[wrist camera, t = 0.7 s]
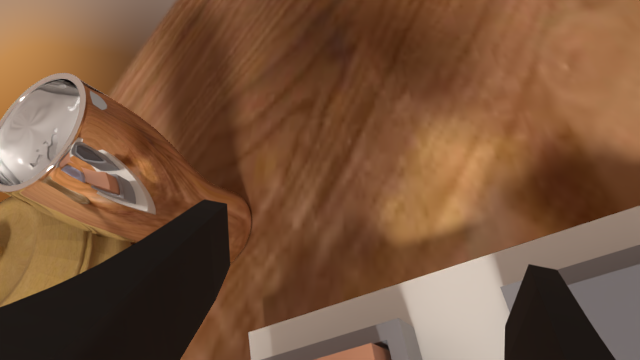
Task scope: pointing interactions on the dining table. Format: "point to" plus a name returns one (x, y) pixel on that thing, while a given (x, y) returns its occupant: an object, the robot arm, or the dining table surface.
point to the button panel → (453, 300)
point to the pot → (44, 251)
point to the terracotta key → (361, 353)
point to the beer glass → (101, 165)
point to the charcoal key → (613, 309)
